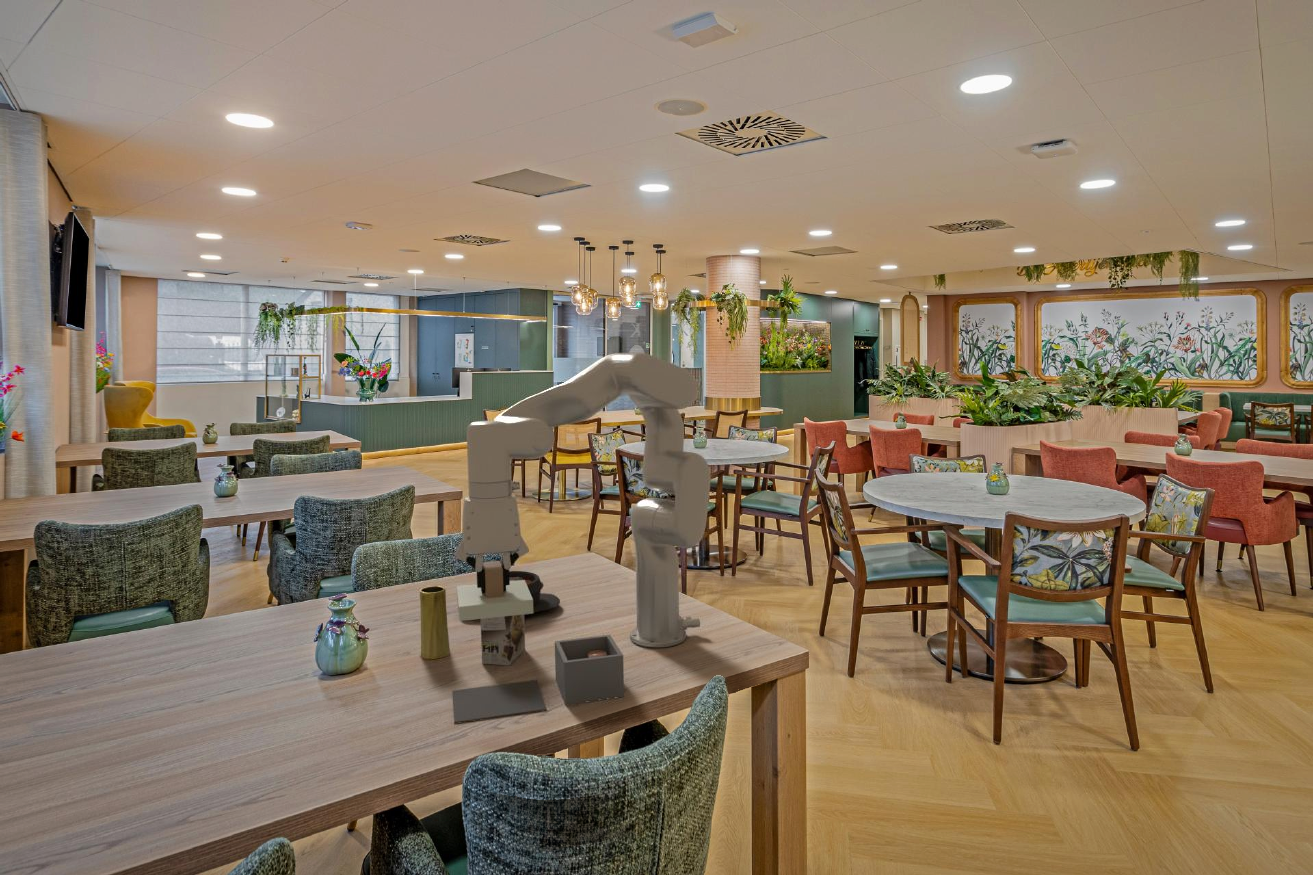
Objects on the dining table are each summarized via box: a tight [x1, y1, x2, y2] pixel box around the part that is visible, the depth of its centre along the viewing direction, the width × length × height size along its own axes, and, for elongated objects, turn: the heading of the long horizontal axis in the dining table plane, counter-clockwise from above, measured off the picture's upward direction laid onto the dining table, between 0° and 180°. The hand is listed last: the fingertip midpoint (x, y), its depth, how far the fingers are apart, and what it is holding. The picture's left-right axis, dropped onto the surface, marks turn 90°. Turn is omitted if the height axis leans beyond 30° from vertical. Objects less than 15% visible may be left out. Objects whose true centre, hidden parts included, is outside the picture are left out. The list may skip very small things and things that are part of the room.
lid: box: [456, 560, 534, 622], centre depth 137 cm, size 13×13×8 cm
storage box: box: [554, 634, 625, 706], centre depth 144 cm, size 11×11×8 cm
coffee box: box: [480, 577, 526, 666], centre depth 160 cm, size 9×6×16 cm
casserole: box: [509, 570, 561, 617], centre depth 189 cm, size 25×19×8 cm
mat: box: [452, 679, 547, 724], centre depth 140 cm, size 16×13×1 cm
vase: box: [419, 585, 451, 660], centre depth 162 cm, size 6×6×14 cm
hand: (493, 589), depth 138 cm, fingers closed on lid, 3 cm apart
